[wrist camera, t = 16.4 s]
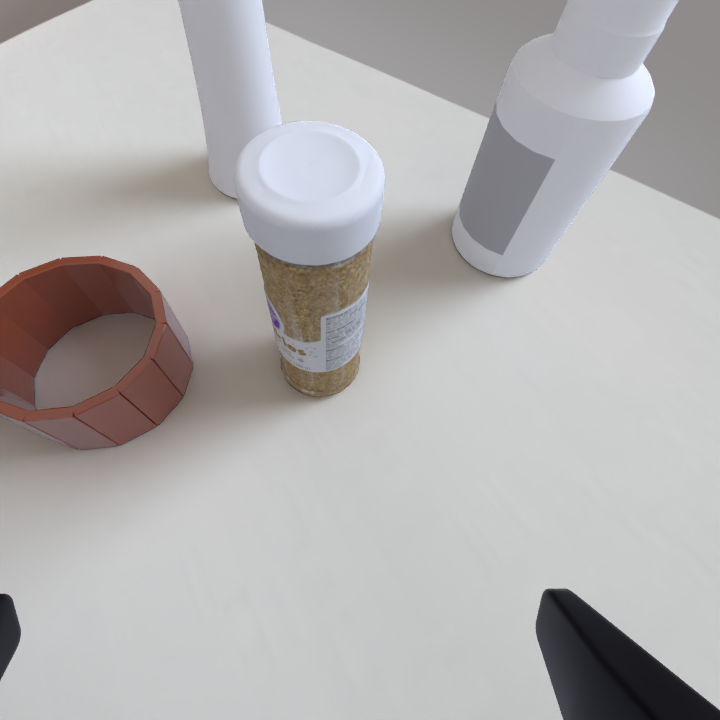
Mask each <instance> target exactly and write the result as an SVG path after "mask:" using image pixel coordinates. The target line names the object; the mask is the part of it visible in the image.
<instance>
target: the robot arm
mask: <svg viewBox="0 0 720 720" xmlns="http://www.w3.org/2000/svg"><path fill="white" fill-rule="evenodd" d="M536 634H537V639H538V642H539V645H540V648H541V651H542V654H543V658H544V661H545V664H546V667H547V670H548V673H549V676H550V679H551V683H552V686H553V689H554V692H555V695H556V698H557V701H558V704H559V708H560V711H561V714H562V717H563V720H720V710H719V709H717V708H716V707H715V706H714V705H712V704H711V703H710V702H709V701H707V700H706V699H705V698H704V697H703V696H701V695H700V694H699V693H698V692H696V691H695V690H694V689H693V688H691V687H690V686H689V685H688V684H686V683H685V682H684V681H683V680H681V679H680V678H679V677H678V676H676V675H675V674H674V673H673V672H671V671H670V670H669V669H668V668H667V667H665V666H664V665H663V664H662V663H660V662H659V661H658V660H657V659H655V658H654V657H653V656H652V655H650V654H649V653H648V652H647V651H645V650H644V649H643V648H642V647H640V646H639V645H638V644H637V643H635V642H634V641H633V640H632V639H630V638H629V637H628V636H627V635H626V634H624V633H623V632H622V631H621V630H619V629H618V628H617V627H616V626H614V625H613V624H612V623H611V622H609V621H608V620H607V619H606V618H604V617H603V616H602V615H601V614H599V613H598V612H597V611H596V610H594V609H593V608H592V607H591V606H590V605H588V604H587V603H586V602H585V601H583V600H582V599H581V598H580V597H578V596H577V595H576V594H575V593H573V592H572V591H570V590H568V589H546V590H545V591H544V592H543V594H542V598H541V602H540V607H539V611H538V616H537V620H536ZM20 637H21V629H20V625H19V621H18V617H17V614H16V610H15V606H14V603H13V600H12V598H11V597H10V596H9V595H7V594H0V680H1V678H2V676H3V674H4V672H5V670H6V668H7V666H8V664H9V662H10V661H11V659H12V657H13V655H14V653H15V651H16V649H17V647H18V644H19V641H20Z"/></svg>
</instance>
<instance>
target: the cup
mask: <svg viewBox="0 0 720 720" xmlns="http://www.w3.org/2000/svg"><path fill="white" fill-rule="evenodd" d="M130 312H135V313H138V314H141V315H144V316H147V317H150V318H153V319H155V322H156V325H155V328H154V330H153V333H152V336H151V338H150V341H149V344H148V347H147V349H146V352H145V355H144V357H143V358H142V359H141V360H140V361H139V362H138V363H137V364H136V365H135V366H134V367H133V368H132V369H131V370H130V371H129V372H128V373H127V374H126V375H125V376H124V377H123V378H122V379H121V380H120V381H119V382H118V383H117V384H116V386H115V387H113V388H110V389H108V390H106V391H104V392H102V393H100V394H98V395H96V396H94V397H92V398H90V399H87V400H85V401H83V402H81V403H79V404H77V405H75V406H73V407H62V408H51V409H40V410H37V408H36V407H35V394H34V377H35V374H36V372H37V370H38V368H39V366H40V364H41V362H42V360H43V358H44V356H45V354H46V352H47V350H48V349H49V348H50V347H51V346H52V345H53V344H55V343H56V342H57V341H58V340H59V339H60V338H61V337H62V336H63V335H65V334H66V333H67V332H68V331H69V330H70V329H71V328H72V327H75V326H77V325H79V324H82V323H84V322H86V321H89V320H91V319H93V318H96V317H98V316H101V315H103V314H115V313H130ZM192 364H193V360H192V356H191V351H190V347H189V342H188V338H187V335H186V334H185V332H184V330H183V328H182V327H181V325H180V323H179V322H178V320H177V318H176V317H175V315H174V313H173V312H172V310H171V308H170V306H169V305H168V303H167V301H166V300H165V298H164V296H163V295H162V293H161V291H160V290H159V289H158V287H157V286H156V285H155V284H154V283H153V282H152V281H151V280H150V279H149V278H148V277H147V276H146V275H145V274H144V273H143V272H142V271H141V270H140V269H139V268H137V267H135V266H132V265H129V264H126V263H123V262H120V261H117V260H114V259H111V258H108V257H104V256H102V257H101V256H86V257H67V258H61V259H56V260H53V261H50V262H48V263H45V264H42V265H40V266H37V267H34V268H32V269H29V270H26V271H24V272H21V273H19V275H16V276H14V277H13V278H12V279H10V280H9V281H8V282H7V283H5V284H4V285H3V286H1V287H0V416H1V417H3V418H5V419H7V420H9V421H11V422H14V423H16V424H18V425H20V426H22V427H24V428H26V429H28V430H30V431H32V432H34V433H36V434H38V435H40V436H43V437H45V438H47V439H50V440H52V441H55V442H58V443H61V444H63V445H66V446H69V447H72V448H74V449H77V450H78V449H79V450H84V449H94V448H104V447H113V446H119V444H120V445H122V444H124V443H126V442H128V441H130V440H132V439H134V438H136V437H138V436H140V435H142V434H144V433H146V432H147V431H149V430H151V429H153V428H155V427H157V425H159V424H160V423H161V422H162V421H163V420H164V418H165V417H166V416H167V415H168V414H169V413H170V412H171V410H172V409H173V408H174V407H175V406H176V405H177V404H178V402H179V401H180V400H181V399H182V398H183V397H182V396H184V393H185V390H186V387H187V384H188V380H189V377H190V374H191V371H192V367H193V365H192Z"/></svg>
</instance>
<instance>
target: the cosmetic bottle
mask: <svg viewBox="0 0 720 720" xmlns="http://www.w3.org/2000/svg"><path fill="white" fill-rule="evenodd" d="M178 2H179V6H180V11H181V15H182V20H183V24H184V29H185V33H186V38H187V42H188V47H189V52H190V56H191V61H192V65H193V70H194V75H195V80H196V85H197V90H198V95H199V100H200V106H201V111H202V117H203V123H204V129H205V136H206V144H207V152H208V163H209V175H210V179H211V181H212V183H213V184H214V185H215V187H216V188H217V189H218V190H220V191H221V192H222V193H224V194H226V195H228V196H230V197H233V198H236V199H237V194H236V190H235V185H234V169H235V164H236V161H237V159H238V157H239V154H240V153H241V151H242V150H243V148H244V147H245V146H246V145H247V144H248V143H249V142H250V141H251V140H252V139H253V138H255V137H256V136H257V135H258V134H260V133H262V132H264V131H265V130H267V129H270V128H272V127H275V126H278V125H281V124H282V119H281V114H280V109H279V104H278V99H277V93H276V88H275V82H274V76H273V70H272V64H271V57H270V51H269V44H268V38H267V32H266V25H265V19H264V11H263V5H262V0H178Z"/></svg>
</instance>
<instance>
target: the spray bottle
mask: <svg viewBox="0 0 720 720" xmlns="http://www.w3.org/2000/svg"><path fill="white" fill-rule="evenodd" d="M678 1H679V0H568V1H567V4H566V6H565V9H564V11H563V13H562V15H561V18H560V20H559V23H558V25H557V27H556V30H555V32H554V33H552V34H548V35H544V36H540V37H536V38H535V39H533V40H531V41H530V42H528V43H527V44H525V45H523V46H522V47H520V48H519V50H518V51H517V53H516V55H515V56H514V58H513V60H512V61H511V63H510V64H509V67H508V70H507V73H506V76H505V78H504V82H503V84H502V87H501V90H500V92H499V95H498V98H497V101H496V104H495V106H494V110H493V112H492V115H491V118H490V120H489V123H488V126H487V129H486V132H485V134H484V137H483V140H482V143H481V146H480V148H479V151H478V154H477V157H476V160H475V162H474V165H473V168H472V171H471V174H470V176H469V179H468V182H467V185H466V188H465V190H464V193H463V196H462V199H461V202H460V204H459V207H458V210H457V213H456V216H455V218H454V221H453V228H452V236H453V240H454V243H455V246H456V249H457V250H458V251H459V253H460V254H461V255H462V257H463V258H464V259H465V260H466V261H467V262H468V263H470V264H471V265H472V266H474V267H475V268H476V269H478V270H481V271H483V272H486V273H488V274H490V275H495V276H501V277H518V276H523V275H525V274H528V273H530V272H532V271H535V270H537V269H538V268H539V267H540V266H541V265H542V264H543V263H544V262H545V261H546V259H547V258H548V256H549V255H550V253H551V252H552V251H553V249H554V248H555V246H556V245H557V243H558V242H559V241H560V239H561V238H562V236H563V235H564V233H565V232H566V230H567V229H568V228H569V226H570V225H571V223H572V222H573V220H574V219H575V218H576V216H577V215H578V213H579V212H580V210H581V209H582V207H583V206H584V205H585V203H586V202H587V200H588V199H589V197H590V196H591V195H592V193H593V192H594V190H595V189H596V187H597V186H598V184H599V183H600V182H601V180H602V179H603V177H604V176H605V174H606V173H607V172H608V170H609V169H610V167H611V166H612V164H613V163H614V161H615V160H616V159H617V157H618V156H619V154H620V153H621V151H622V150H623V148H624V147H625V146H626V144H627V143H628V141H629V140H630V138H631V137H632V136H633V134H634V133H635V131H636V130H637V128H638V127H639V126H640V124H641V123H642V121H643V120H644V118H645V117H646V116H647V114H648V113H649V111H650V108H651V106H652V102H653V99H654V95H655V91H654V86H653V82H652V79H651V75H650V74H649V72H648V71H647V69H646V68H645V66H644V65H643V62H644V60H645V58H646V57H647V55H648V54H649V52H650V50H651V49H652V47H653V46H654V44H655V42H656V41H657V39H658V37H659V36H660V34H661V32H662V31H663V29H664V26H665V24H666V20H667V19H668V17H669V15H670V14H671V12H672V10H673V9H674V7H675V6H676V4H677V2H678Z"/></svg>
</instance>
